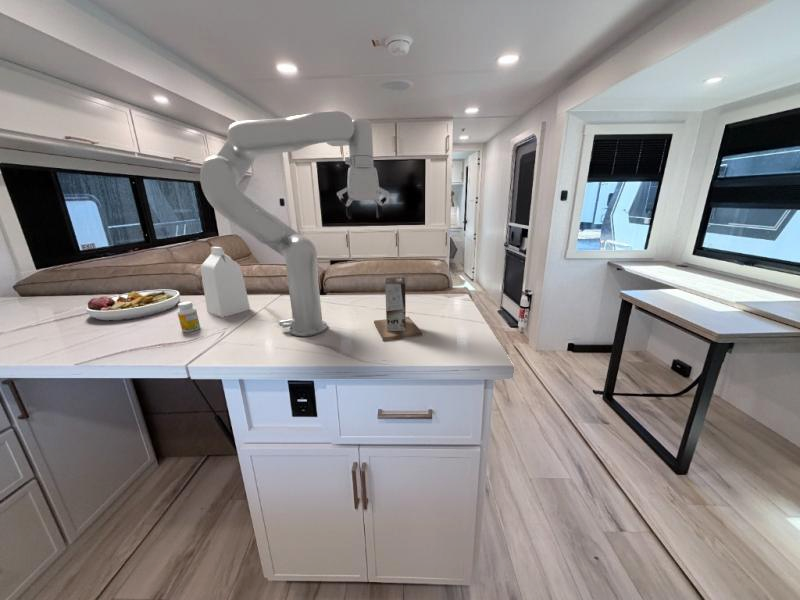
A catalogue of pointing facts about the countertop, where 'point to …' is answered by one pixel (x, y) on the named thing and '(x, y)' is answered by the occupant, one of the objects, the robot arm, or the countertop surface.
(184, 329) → the supplement bottle
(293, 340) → the countertop surface
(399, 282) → the coffee box
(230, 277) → the milk
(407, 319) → the walnut board
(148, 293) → the plate of food
